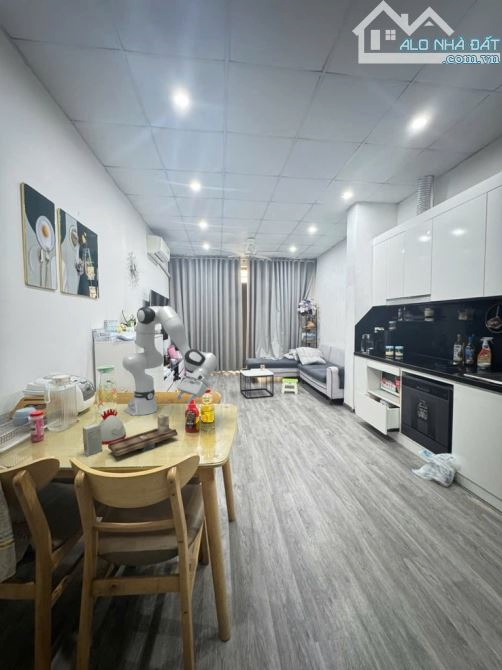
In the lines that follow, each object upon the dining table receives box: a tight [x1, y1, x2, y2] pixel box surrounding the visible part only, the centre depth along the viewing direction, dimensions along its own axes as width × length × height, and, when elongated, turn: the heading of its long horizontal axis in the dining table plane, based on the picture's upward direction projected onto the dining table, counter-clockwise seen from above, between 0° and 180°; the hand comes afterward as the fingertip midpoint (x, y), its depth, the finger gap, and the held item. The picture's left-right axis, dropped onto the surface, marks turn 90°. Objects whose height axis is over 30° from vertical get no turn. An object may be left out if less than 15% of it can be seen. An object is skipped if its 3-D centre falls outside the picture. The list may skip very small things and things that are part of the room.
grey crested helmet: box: [98, 408, 127, 446], centre depth 132 cm, size 14×14×15 cm
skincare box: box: [82, 422, 103, 457], centre depth 118 cm, size 6×4×12 cm
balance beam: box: [107, 427, 178, 457], centre depth 123 cm, size 28×11×5 cm, turn 135°
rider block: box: [156, 413, 170, 434], centre depth 130 cm, size 4×4×8 cm
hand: (182, 400), depth 137 cm, fingers open, 8 cm apart
